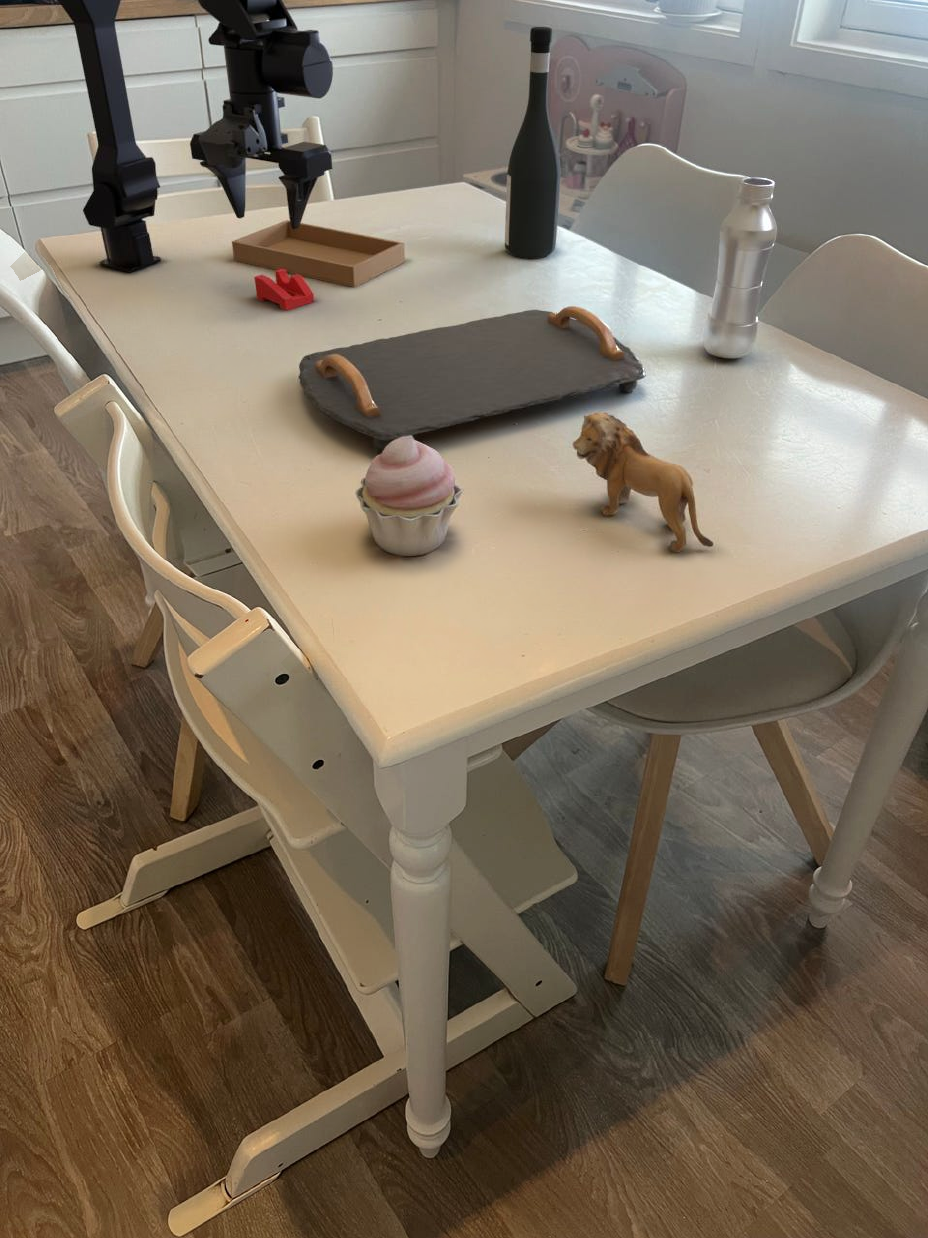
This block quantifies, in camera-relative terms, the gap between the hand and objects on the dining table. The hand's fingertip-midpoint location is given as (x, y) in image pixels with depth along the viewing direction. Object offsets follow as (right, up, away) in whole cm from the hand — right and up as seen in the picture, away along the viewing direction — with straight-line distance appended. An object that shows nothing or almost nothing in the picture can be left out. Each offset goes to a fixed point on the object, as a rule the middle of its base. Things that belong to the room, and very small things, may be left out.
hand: (267, 222), depth 126 cm
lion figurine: (+42, -43, -38) cm, 71 cm away
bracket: (+1, -9, +6) cm, 10 cm away
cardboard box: (+4, +2, +19) cm, 19 cm away
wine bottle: (+36, +5, +23) cm, 43 cm away
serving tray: (+27, -26, -16) cm, 40 cm away
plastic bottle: (+58, -20, -8) cm, 62 cm away
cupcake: (+21, -45, -41) cm, 65 cm away
